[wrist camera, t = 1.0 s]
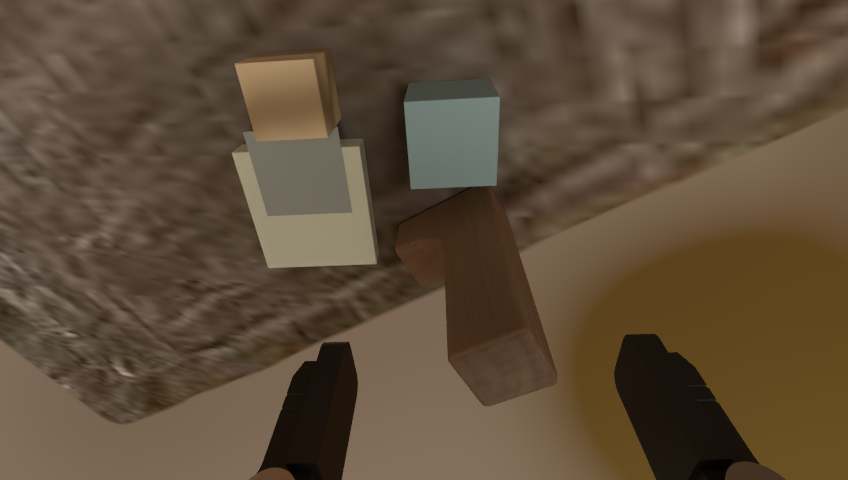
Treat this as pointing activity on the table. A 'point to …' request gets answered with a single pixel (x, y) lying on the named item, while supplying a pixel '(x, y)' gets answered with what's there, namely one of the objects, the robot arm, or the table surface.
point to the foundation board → (309, 200)
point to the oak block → (290, 94)
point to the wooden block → (480, 294)
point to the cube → (452, 133)
